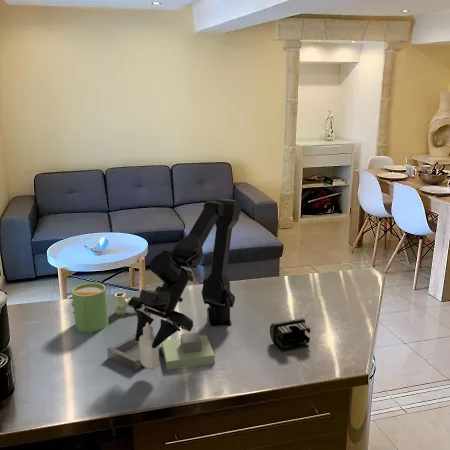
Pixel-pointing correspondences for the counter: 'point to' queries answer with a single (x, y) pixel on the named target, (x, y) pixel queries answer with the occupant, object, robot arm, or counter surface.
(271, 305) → the counter surface
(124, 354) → the grey square tray
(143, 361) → the eye dropper bottle
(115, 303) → the valve
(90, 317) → the mug
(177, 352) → the deck plate
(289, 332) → the end cap
